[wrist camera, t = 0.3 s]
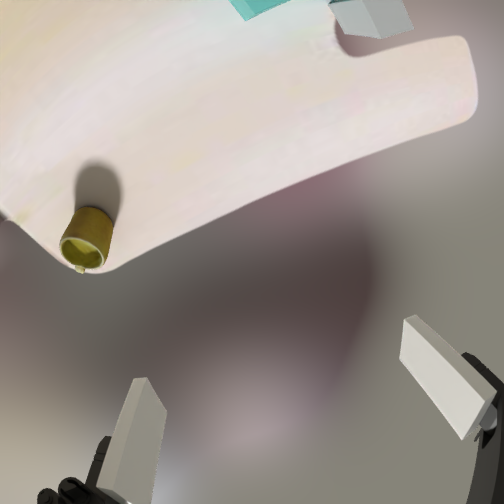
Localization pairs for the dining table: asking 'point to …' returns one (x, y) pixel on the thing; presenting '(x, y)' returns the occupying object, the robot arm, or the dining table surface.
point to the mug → (87, 239)
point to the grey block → (372, 17)
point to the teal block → (254, 6)
